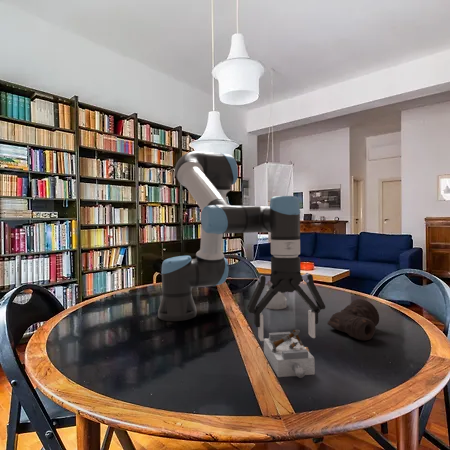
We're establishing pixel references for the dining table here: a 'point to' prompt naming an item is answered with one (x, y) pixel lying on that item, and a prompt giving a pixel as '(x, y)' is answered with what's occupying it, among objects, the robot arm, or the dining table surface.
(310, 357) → the machine vise
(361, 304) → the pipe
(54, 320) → the dining table surface
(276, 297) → the engine component
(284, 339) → the wooden post with brackets
